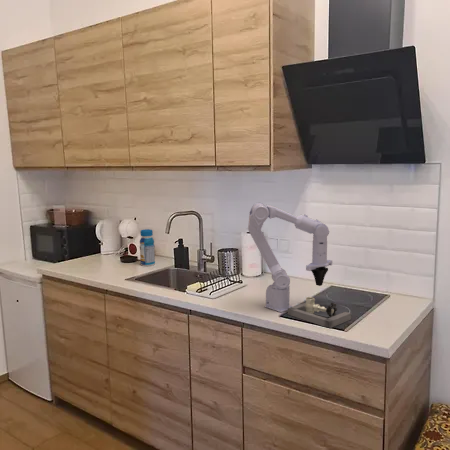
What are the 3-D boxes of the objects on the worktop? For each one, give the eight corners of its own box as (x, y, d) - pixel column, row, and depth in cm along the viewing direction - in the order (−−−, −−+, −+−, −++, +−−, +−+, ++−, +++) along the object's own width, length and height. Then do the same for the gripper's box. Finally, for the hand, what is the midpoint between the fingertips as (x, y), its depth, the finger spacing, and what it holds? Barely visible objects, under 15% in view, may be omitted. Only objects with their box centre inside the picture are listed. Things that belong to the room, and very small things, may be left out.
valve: (301, 315, 183) (329, 322, 176) (301, 299, 182) (329, 305, 175) (309, 311, 188) (337, 317, 181) (309, 295, 187) (337, 300, 180)
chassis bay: (287, 314, 184) (287, 308, 184) (308, 307, 193) (309, 301, 192) (329, 328, 169) (329, 321, 169) (350, 319, 178) (350, 313, 177)
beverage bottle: (151, 266, 264) (150, 231, 261) (137, 266, 266) (136, 231, 263) (157, 263, 272) (156, 229, 269) (143, 262, 274) (142, 228, 271)
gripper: (316, 256, 181) (315, 290, 183) (338, 251, 190) (338, 283, 192) (302, 253, 186) (301, 287, 188) (324, 248, 196) (324, 280, 198)
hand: (319, 285), depth 191 cm, fingers closed
